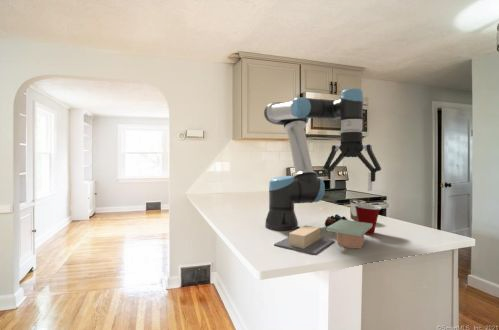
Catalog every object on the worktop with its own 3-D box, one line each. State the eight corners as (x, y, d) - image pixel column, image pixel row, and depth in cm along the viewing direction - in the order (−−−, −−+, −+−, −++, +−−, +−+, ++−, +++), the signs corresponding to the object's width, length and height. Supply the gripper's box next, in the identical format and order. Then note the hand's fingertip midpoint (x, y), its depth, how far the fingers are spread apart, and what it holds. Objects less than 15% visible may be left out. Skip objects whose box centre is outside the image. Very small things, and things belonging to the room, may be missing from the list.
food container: (370, 223, 136) (371, 203, 136) (358, 223, 136) (358, 203, 136) (361, 217, 148) (361, 199, 148) (349, 217, 149) (349, 199, 148)
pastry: (324, 230, 125) (325, 217, 124) (324, 223, 136) (324, 212, 136) (350, 231, 122) (350, 218, 122) (348, 225, 133) (348, 213, 133)
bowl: (333, 245, 102) (334, 229, 102) (341, 239, 109) (342, 224, 109) (359, 250, 97) (359, 233, 97) (365, 243, 104) (366, 227, 104)
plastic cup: (384, 237, 113) (384, 207, 113) (356, 235, 115) (356, 206, 115) (377, 230, 124) (377, 203, 123) (352, 228, 126) (352, 202, 125)
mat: (274, 245, 102) (274, 232, 102) (296, 234, 116) (296, 222, 116) (315, 254, 92) (315, 239, 92) (334, 241, 107) (334, 228, 106)
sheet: (326, 230, 100) (326, 227, 100) (341, 222, 113) (341, 219, 113) (361, 236, 93) (361, 232, 93) (372, 226, 106) (372, 223, 106)
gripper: (315, 132, 106) (314, 187, 107) (386, 129, 91) (385, 193, 92) (322, 134, 112) (322, 186, 113) (390, 130, 97) (389, 190, 98)
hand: (350, 189), depth 103 cm, fingers open, 13 cm apart
